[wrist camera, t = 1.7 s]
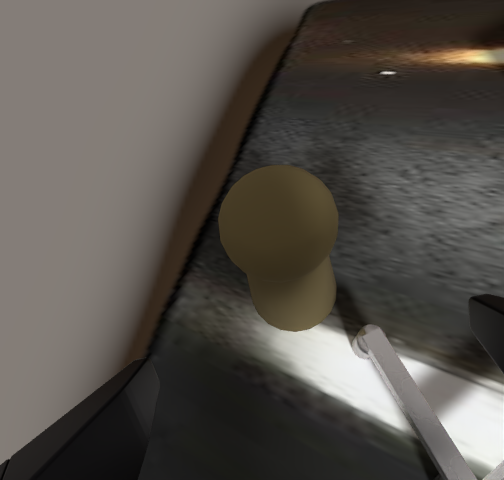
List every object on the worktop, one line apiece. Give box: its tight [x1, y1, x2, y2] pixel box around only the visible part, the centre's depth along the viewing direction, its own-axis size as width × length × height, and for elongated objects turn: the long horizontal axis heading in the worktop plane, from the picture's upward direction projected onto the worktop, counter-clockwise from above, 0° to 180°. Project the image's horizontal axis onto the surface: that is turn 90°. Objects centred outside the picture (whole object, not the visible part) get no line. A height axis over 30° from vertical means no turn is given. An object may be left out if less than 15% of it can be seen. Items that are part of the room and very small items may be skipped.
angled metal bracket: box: [352, 325, 504, 480], centre depth 14 cm, size 7×11×4 cm, turn 76°
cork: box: [218, 165, 339, 332], centre depth 17 cm, size 6×6×11 cm
